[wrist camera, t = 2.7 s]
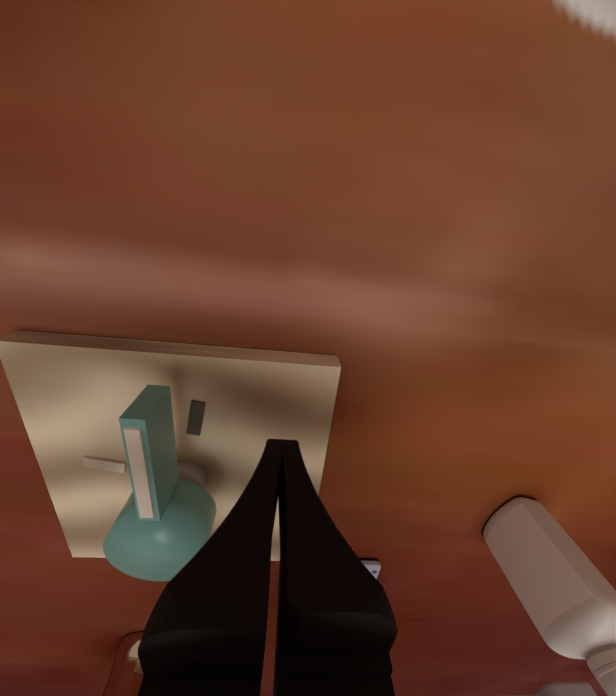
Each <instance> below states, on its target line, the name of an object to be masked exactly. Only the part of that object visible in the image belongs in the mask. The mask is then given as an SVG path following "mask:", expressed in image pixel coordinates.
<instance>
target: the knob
mask: <svg viewBox="0 0 616 696" xmlns="http://www.w3.org/2000/svg"><path fill="white" fill-rule="evenodd" d="M119 423H120V429H121V434H122V439H123V444H124V449H125V454H126V459H127V464H128V470H129V475H130V480H131V485H132V490H133V492H132V493H131V495H130V497H129V498H128V500H127V502H126V503H125V505H124V507H123V508H122V510H121V512H120V514H119V515H118V517H117V519H116V520H115V522H114V524H113V526H112V527H111V529H110V531H109V532H108V534H107V536H106V538H105V539H104V542H103V552H104V554H105V557H106V558H107V560H108V561H109V562H110V563H111V564H112V565H113V566H114V567H115V568H117V569H118V570H120V571H121V572H123V573H125V574H128V575H130V576H133V577H136V578H139V579H144V580H150V581H170V580H171V579H172V578H173V577H174V576H175V575H176V574H177V573H178V572H179V571H180V570H181V569H182V568H183V567H184V566H185V565H186V564H187V563H188V562H189V561H190V560H191V559H192V558H193V557H194V555H195V554H196V553H197V552H198V551H199V550H200V549H201V547H202V546H203V545H204V544H205V543H206V542H207V541H208V539H209V538H210V536H211V532H212V528H213V524H214V520H215V517H216V511H217V509H216V504H215V501H214V500H213V498H212V497H211V495H210V494H209V493H208V492H207V491H206V490H204V489H203V488H202V487H200V486H198V485H197V484H194V483H192V482H190V481H187V480H183V479H179V472H178V462H177V452H176V442H175V433H174V423H173V413H172V403H171V393H170V386H161V385H147V386H146V387H145V388H144V390H143V391H142V392H141V393H140V394H139V395H138V397H137V398H136V399H135V400H134V401H133V402H132V403H131V405H130V406H129V407H128V408H127V409H126V410H125V412H124V413H123V414H122V415H121V416H120V417H119Z"/></svg>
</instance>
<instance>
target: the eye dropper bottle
mask: <svg viewBox="0 0 616 696" xmlns="http://www.w3.org/2000/svg"><path fill="white" fill-rule="evenodd" d="M483 536H484V540H485V542H486V544H487V545H488V547H489V549H490V550H491V552H492V554H493V555H494V557H495V559H496V561H497V562H498V564H499V566H500V567H501V569H502V571H503V572H504V574H505V576H506V578H507V579H508V581H509V583H510V584H511V586H512V588H513V589H514V591H515V593H516V594H517V596H518V598H519V600H520V601H521V603H522V605H523V606H524V608H525V610H526V611H527V613H528V615H529V616H530V618H531V620H532V621H533V623H534V625H535V626H536V628H537V630H538V631H539V633H540V634H541V636H542V638H543V639H544V641H545V642H546V643H547V645H548V646H549V647H550V648H551V649H552V650H553V651H555V652H557V653H558V654H560V655H562V656H565V657H569V658H574V659H586V660H587V665H588V667H589V668H590V670H591V671H592V673H593V674H594V676H595V677H596V679H597V680H598V682H599V683H600V685H601V687H602V688H603V690H604V691H605V693H606V694H607V696H616V591H615V590H614V588H613V587H612V586H611V585H610V584H609V582H608V581H607V580H606V579H605V578H604V576H603V575H602V574H601V573H600V572H599V571H598V569H597V568H596V567H595V566H594V565H593V564H592V562H591V561H590V560H589V559H588V558H587V556H586V555H585V554H584V553H583V552H582V551H581V549H580V548H579V547H578V546H577V545H576V544H575V542H574V541H573V540H572V539H571V538H570V537H569V535H568V534H567V533H566V532H565V531H564V530H563V528H562V527H561V526H560V525H559V524H558V523H557V521H556V520H555V519H554V518H553V517H552V516H551V514H550V513H549V512H548V511H547V510H546V509H545V508H544V506H543V505H542V504H541V503H539V502H538V501H536V500H532V499H528V498H524V497H517V498H514V499H512V500H510V501H509V502H507V503H506V504H504V505H503V506H502V507H501V508H499V509H498V510H497V511H496V512H495V513H494V514H493V515H492V516H491V518H490V519H489V521H488V522H487V524H486V526H485V528H484V532H483Z"/></svg>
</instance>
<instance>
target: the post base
mask: <svg viewBox="0 0 616 696" xmlns="http://www.w3.org/2000/svg"><path fill="white" fill-rule="evenodd" d="M0 359H1V361H2V364H3V367H4V370H5V372H6V375H7V378H8V381H9V383H10V386H11V389H12V392H13V394H14V397H15V400H16V403H17V405H18V408H19V411H20V414H21V416H22V419H23V422H24V425H25V427H26V430H27V433H28V436H29V438H30V441H31V444H32V447H33V450H34V452H35V455H36V458H37V461H38V463H39V466H40V469H41V472H42V474H43V477H44V480H45V483H46V485H47V488H48V491H49V494H50V496H51V499H52V502H53V505H54V507H55V510H56V513H57V516H58V518H59V521H60V524H61V527H62V529H63V532H64V535H65V538H66V540H67V543H68V546H69V549H70V551H71V554H72V557H100V558H106V557H105V554H104V552H103V542H104V539H105V538H106V536H107V534H108V532H109V531H110V529H111V527H112V526H113V524H114V522H115V520H116V519H117V517H118V515H119V514H120V512H121V510H122V508H123V507H124V505H125V503H126V502H127V500H128V498H129V497H130V495H131V493H132V492H133V490H132V485H131V480H130V475H129V470H128V464H127V459H126V454H125V449H124V444H123V439H122V434H121V429H120V423H119V417H120V416H121V415H122V414H123V413H124V412H125V410H126V409H127V408H128V407H129V406H130V405H131V403H132V402H133V401H134V400H135V399H136V398H137V397H138V395H139V394H140V393H141V392H142V391H143V390H144V388H145V387H146V386H147V385H161V386H170V393H171V403H172V413H173V423H174V433H175V442H176V452H177V462H178V472H179V479H183V480H187V481H190V482H192V483H194V484H197V485H198V486H200V487H202V488H203V489H204V490H206V491H207V492H208V493H209V494H210V495H211V497H212V498H213V500H214V501H215V504H216V509H217V511H216V517H215V520H214V524H213V528H212V532H211V536H212V535H213V533H214V532H215V531H216V530H217V528H218V527H219V526H220V524H221V523H222V522H223V520H224V519H225V518H226V516H227V515H228V514H229V512H230V511H231V509H232V508H233V507H234V505H235V504H236V502H237V501H238V499H239V498H240V496H241V494H242V493H243V491H244V489H245V488H246V486H247V484H248V482H249V481H250V479H251V477H252V475H253V473H254V471H255V469H256V467H257V465H258V463H259V461H260V459H261V456H262V454H263V451H264V448H265V445H266V441H267V440H268V439H286V440H297V441H298V442H299V447H300V451H301V455H302V458H303V461H304V464H305V467H306V469H307V472H308V474H309V477H310V479H311V481H312V484H313V486H314V488H315V490H316V492H317V494H318V496H319V490H320V484H321V479H322V473H323V467H324V462H325V456H326V450H327V445H328V439H329V433H330V428H331V422H332V416H333V411H334V405H335V399H336V394H337V388H338V382H339V377H340V371H341V365H340V362H339V359H338V356H337V355H324V354H312V353H299V352H287V351H274V350H262V349H249V348H237V347H224V346H212V345H199V344H187V343H174V342H162V341H149V340H137V339H124V338H112V337H99V336H87V335H74V334H62V333H49V332H37V331H24V330H18V331H16V332H14V333H11V334H9V335H6V336H4V337H2V338H0ZM211 536H210V537H211ZM271 561H280V536H279V503H278V501H277V508H276V515H275V521H274V528H273V535H272V546H271Z"/></svg>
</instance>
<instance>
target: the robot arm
mask: <svg viewBox="0 0 616 696" xmlns="http://www.w3.org/2000/svg"><path fill="white" fill-rule="evenodd" d="M277 501H278V503H279V536H280V570H279V591H278V611H277V630H276V649H275V668H274V686H273V696H395V694H394V689H393V684H392V679H391V675H390V674H392V665H391V660H390V655H389V651H390V649H391V647H392V645H393V643H394V641H395V638H396V636H397V632H398V630H397V626H396V621H395V617H394V614H393V612H392V609H391V606H390V603H389V600H388V598H387V596H386V593H385V591H384V589H383V586H382V585H381V584H380V583H379V582H378V581H377V577H378V574H379V571H380V569H381V566H380V563H379V562H378V561H361V560H360V559H359V558H358V557H357V555H356V554H355V553H354V552H353V550H352V549H351V547H350V546H349V545H348V543H347V542H346V540H345V539H344V538H343V536H342V535H341V533H340V532H339V531H338V529H337V527H336V526H335V524H334V523H333V521H332V519H331V518H330V516H329V514H328V513H327V511H326V509H325V508H324V506H323V504H322V502H321V500H320V498H319V496H318V494H317V492H316V490H315V488H314V486H313V484H312V481H311V479H310V477H309V474H308V472H307V469H306V467H305V464H304V461H303V458H302V455H301V451H300V447H299V442H298V441H297V440H286V439H268V440H267V441H266V445H265V448H264V451H263V454H262V456H261V459H260V461H259V463H258V465H257V467H256V469H255V471H254V473H253V475H252V477H251V479H250V481H249V482H248V484H247V486H246V488H245V489H244V491H243V493H242V494H241V496H240V498H239V499H238V501H237V502H236V504H235V505H234V507H233V508H232V509H231V511H230V512H229V514H228V515H227V516H226V518H225V519H224V520H223V522H222V523H221V524H220V526H219V527H218V528H217V530H216V531H215V532H214V533H213V535H212V536H211V537H210V538H209V539H208V541H207V542H206V543H205V544H204V545H203V546H202V547H201V549H200V550H199V551H198V552H197V553H196V554H195V555H194V557H193V558H192V559H191V560H190V561H189V562H188V563H187V564H186V565H185V566H184V567H183V568H182V569H181V570H180V571H179V572H178V573H177V574H176V575H175V576H174V577H173V578H172V579H171V580H170V581H169V582H168V584H167V585H166V587H165V589H164V590H163V592H162V594H161V596H160V597H159V599H158V601H157V603H156V605H155V607H154V609H153V611H152V613H151V615H150V617H149V619H148V622H147V624H146V627H145V630H144V632H143V635H142V638H141V641H140V644H139V646H138V658H139V662H140V665H141V669H142V672H143V676H144V677H143V680H142V683H141V686H140V689H139V692H138V695H137V696H260V689H261V679H262V671H263V661H264V651H265V641H266V630H267V614H268V598H269V580H270V563H271V546H272V535H273V528H274V521H275V515H276V508H277ZM518 696H597V695H596V694H595V692H594V690H593V689H592V687H591V686H590V684H588V683H587V682H554V683H549V684H546V685H544V686H542V687H541V688H540V689H539V690H538V691H537V694H536V695H518Z"/></svg>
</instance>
